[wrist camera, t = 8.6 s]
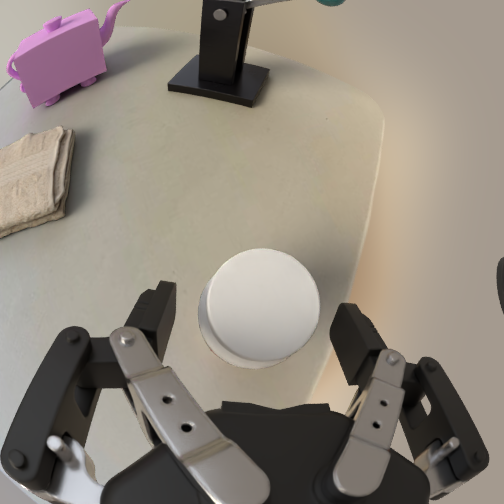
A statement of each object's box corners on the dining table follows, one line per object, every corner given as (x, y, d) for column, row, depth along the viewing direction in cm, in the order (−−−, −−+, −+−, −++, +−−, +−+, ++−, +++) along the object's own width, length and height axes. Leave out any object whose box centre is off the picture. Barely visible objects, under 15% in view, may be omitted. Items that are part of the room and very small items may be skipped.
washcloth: (72, 218, 21) (59, 201, 18) (-39, 261, 16) (-54, 251, 13) (79, 132, 24) (72, 114, 21) (-23, 179, 20) (-34, 167, 17)
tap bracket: (268, 75, 32) (288, -1, 20) (251, 107, 29) (272, 13, 17) (196, 60, 32) (201, -13, 20) (167, 90, 28) (164, 1, 16)
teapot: (23, 125, 24) (-7, 61, 12) (25, 96, 26) (4, 41, 15) (144, 66, 30) (139, -6, 19) (128, 47, 33) (123, -12, 21)
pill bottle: (214, 280, 21) (219, 218, 12) (284, 300, 21) (341, 255, 12) (192, 352, 18) (176, 350, 9) (267, 371, 19) (318, 385, 10)
